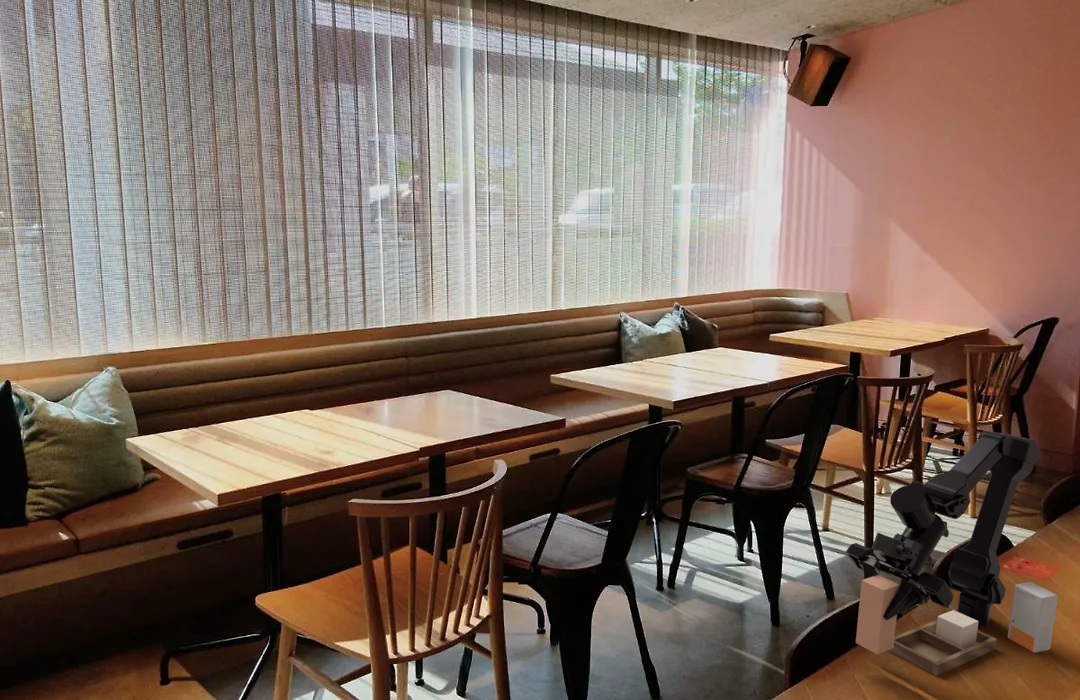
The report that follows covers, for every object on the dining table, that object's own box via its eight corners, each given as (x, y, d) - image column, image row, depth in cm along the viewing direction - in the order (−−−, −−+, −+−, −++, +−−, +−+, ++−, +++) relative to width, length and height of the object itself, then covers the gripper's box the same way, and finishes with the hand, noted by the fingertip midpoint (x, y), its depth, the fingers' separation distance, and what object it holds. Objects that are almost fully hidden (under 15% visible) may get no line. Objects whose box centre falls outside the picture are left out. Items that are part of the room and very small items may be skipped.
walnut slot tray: (944, 630, 164) (946, 616, 164) (994, 653, 156) (996, 639, 155) (885, 654, 155) (887, 639, 154) (936, 680, 146) (937, 665, 146)
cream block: (950, 634, 161) (953, 609, 160) (975, 645, 157) (978, 621, 156) (934, 640, 158) (937, 616, 157) (959, 652, 154) (962, 627, 153)
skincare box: (1005, 642, 160) (1013, 583, 158) (1022, 638, 162) (1029, 581, 160) (1034, 658, 155) (1042, 598, 153) (1050, 654, 156) (1059, 594, 154)
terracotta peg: (871, 636, 152) (877, 574, 150) (893, 647, 148) (900, 584, 146) (855, 642, 149) (861, 580, 147) (877, 654, 146) (883, 590, 144)
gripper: (856, 501, 155) (811, 569, 151) (950, 535, 139) (903, 612, 135) (879, 533, 160) (836, 599, 156) (972, 570, 144) (927, 645, 141)
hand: (872, 612), depth 147 cm, fingers closed on terracotta peg, 4 cm apart
